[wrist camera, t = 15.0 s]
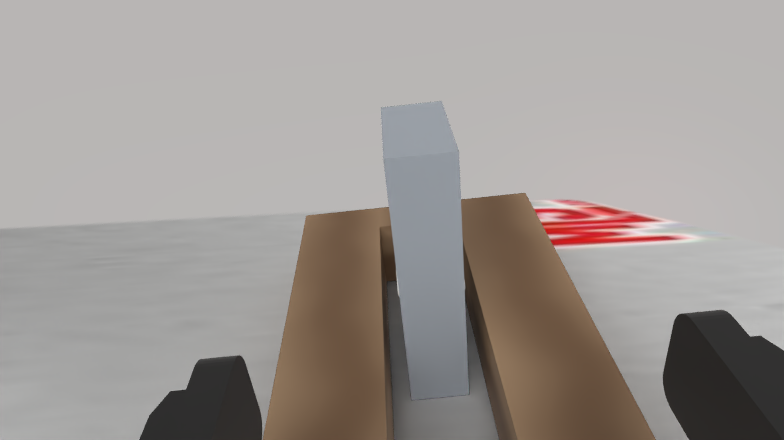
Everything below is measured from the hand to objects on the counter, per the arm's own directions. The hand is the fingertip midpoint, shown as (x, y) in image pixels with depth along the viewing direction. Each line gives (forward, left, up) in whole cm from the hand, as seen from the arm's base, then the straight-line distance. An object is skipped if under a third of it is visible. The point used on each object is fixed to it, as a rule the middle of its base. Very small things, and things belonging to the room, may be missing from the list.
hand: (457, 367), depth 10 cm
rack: (0, +11, -10) cm, 15 cm away
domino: (0, +11, -10) cm, 15 cm away
